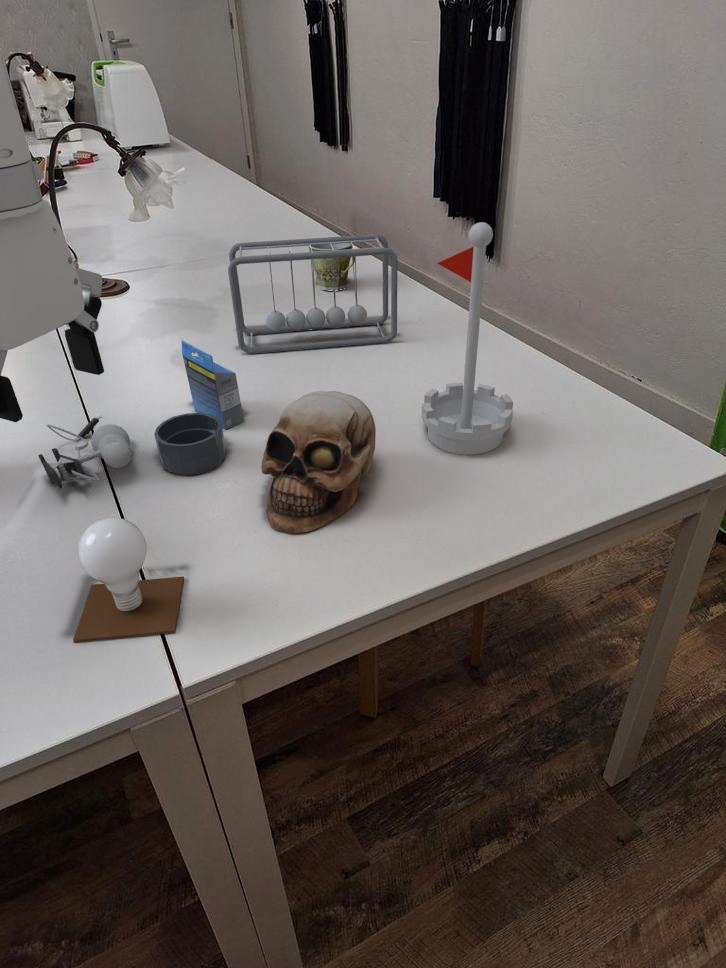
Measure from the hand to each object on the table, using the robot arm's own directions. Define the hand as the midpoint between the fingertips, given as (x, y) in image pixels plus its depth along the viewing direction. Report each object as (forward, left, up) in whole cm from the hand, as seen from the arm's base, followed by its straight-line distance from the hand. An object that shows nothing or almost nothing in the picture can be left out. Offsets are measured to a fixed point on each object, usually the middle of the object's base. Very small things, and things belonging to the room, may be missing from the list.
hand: (51, 393), depth 59 cm
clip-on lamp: (-8, +26, -24) cm, 36 cm away
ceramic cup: (+32, +94, -24) cm, 102 cm away
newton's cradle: (+26, +65, -24) cm, 74 cm away
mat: (+3, -5, -23) cm, 24 cm away
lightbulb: (+3, -5, -23) cm, 24 cm away
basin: (+6, +24, -23) cm, 34 cm away
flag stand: (+46, +25, -24) cm, 57 cm away
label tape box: (+9, +36, -24) cm, 44 cm away
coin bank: (+24, +14, -24) cm, 36 cm away
